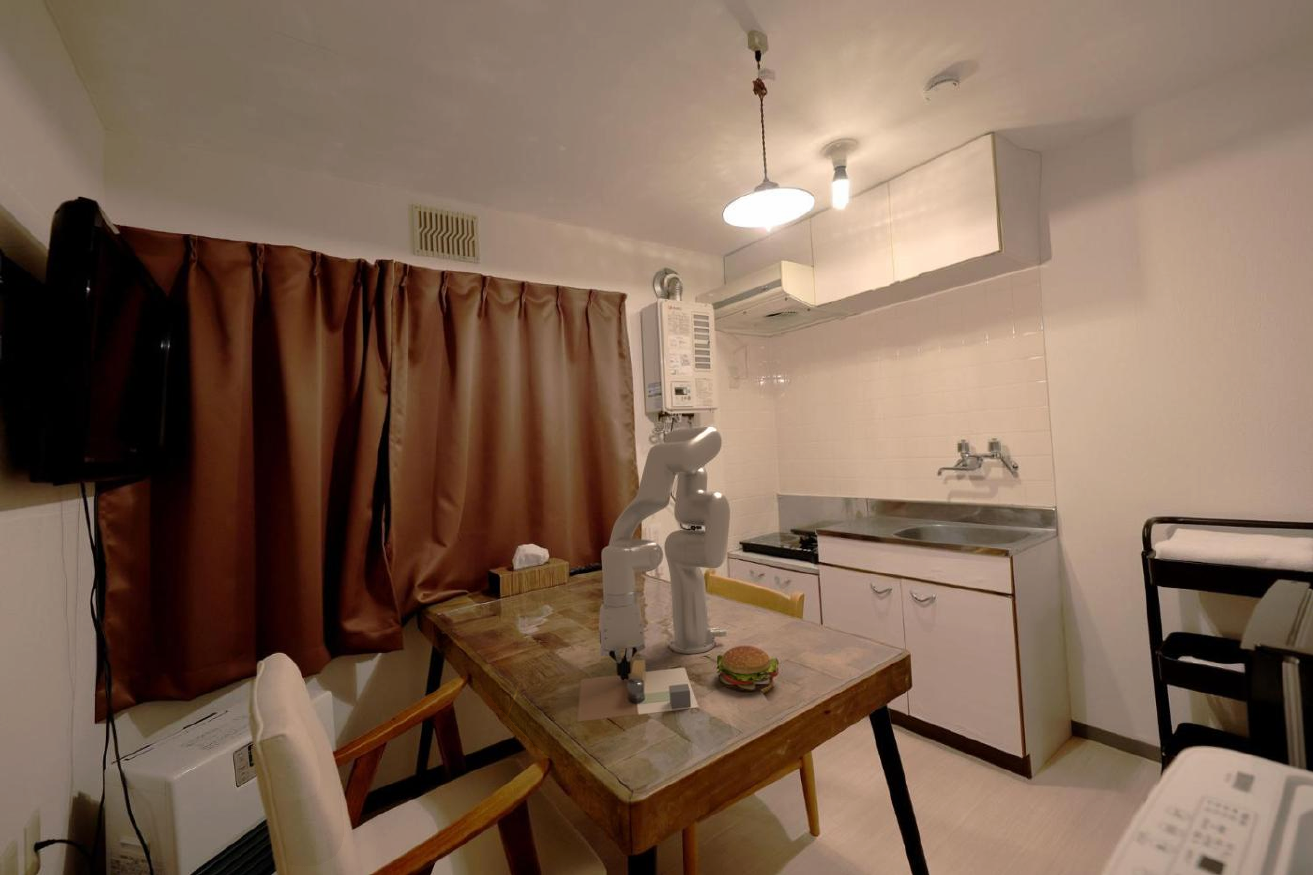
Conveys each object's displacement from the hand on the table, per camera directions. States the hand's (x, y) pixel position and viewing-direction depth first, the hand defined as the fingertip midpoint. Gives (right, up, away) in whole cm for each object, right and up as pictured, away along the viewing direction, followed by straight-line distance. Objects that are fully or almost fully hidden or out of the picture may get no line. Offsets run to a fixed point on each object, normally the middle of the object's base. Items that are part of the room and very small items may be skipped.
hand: (624, 677), depth 119 cm
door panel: (+3, -2, -5) cm, 7 cm away
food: (+29, -1, -2) cm, 29 cm away
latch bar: (+4, -1, -4) cm, 5 cm away
